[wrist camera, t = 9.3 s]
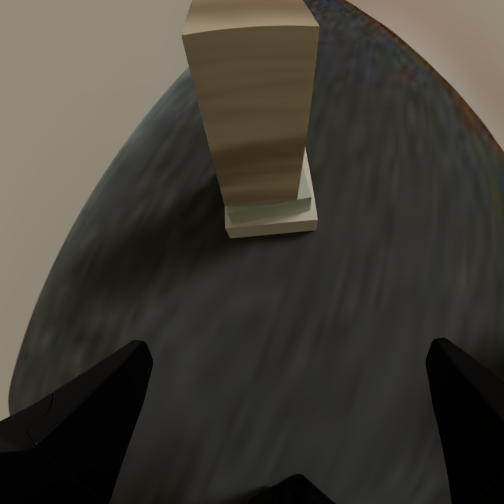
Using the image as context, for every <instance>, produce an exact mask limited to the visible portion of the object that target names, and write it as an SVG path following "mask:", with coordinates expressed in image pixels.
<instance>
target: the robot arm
mask: <svg viewBox="0 0 504 504" xmlns="http://www.w3.org/2000/svg"><path fill="white" fill-rule="evenodd" d="M152 367H153V359H152V356H151V354H150V351H149V349H148V346H147V344H146V342H144V341H139V340H133V341H131V342H130V343H128V344H127V345H125V346H124V347H122V348H120V349H119V350H117V351H116V352H114V353H113V354H111V355H110V356H108V357H107V358H105V359H104V360H102V361H100V362H99V363H97V364H96V365H94V366H93V367H91V368H90V369H88V370H87V371H85V372H83V373H82V374H80V375H79V376H77V377H76V378H74V379H73V380H71V381H69V382H68V383H66V384H65V385H63V386H62V387H60V388H59V389H57V390H55V391H54V393H53V392H52V393H51V394H49V395H48V396H46V397H44V398H43V399H41V400H39V401H38V402H36V403H35V404H33V405H31V406H29V407H27V408H25V409H24V410H22V411H20V412H18V413H16V414H14V415H12V416H10V417H8V418H6V419H4V420H2V421H0V504H109V502H110V499H111V496H112V493H113V490H114V487H115V484H116V480H117V477H118V474H119V471H120V468H121V465H122V462H123V459H124V457H125V454H126V451H127V448H128V445H129V442H130V439H131V436H132V434H133V431H134V428H135V425H136V422H137V420H138V417H139V414H140V411H141V409H142V406H143V402H144V399H145V395H146V391H147V387H148V383H149V379H150V375H151V371H152ZM426 369H427V374H428V380H429V386H430V392H431V398H432V404H433V408H434V413H435V417H436V421H437V425H438V429H439V433H440V438H441V442H442V447H443V452H444V457H445V462H446V468H447V474H448V480H449V487H450V494H451V502H452V504H504V381H503V380H502V379H501V378H499V377H498V376H497V375H495V374H494V373H493V372H491V371H490V370H489V369H487V368H486V367H485V366H483V365H482V364H481V363H479V362H478V361H477V360H475V359H474V358H473V357H471V356H470V355H469V354H467V353H466V352H465V351H463V350H462V349H460V348H459V347H458V346H456V345H455V344H453V343H452V342H451V341H449V340H448V339H446V338H437V339H434V340H433V341H432V343H431V346H430V349H429V352H428V354H427V357H426ZM296 479H301V481H300V482H296V481H295V480H296ZM248 504H335V503H334V502H333V501H332V500H331V499H329V498H328V497H327V496H326V495H325V494H324V493H322V492H321V491H320V490H319V489H318V488H317V487H316V486H314V485H313V484H312V483H311V482H310V481H309V480H308V479H307V478H305V477H304V476H303V475H301V474H296V475H294V476H293V477H291V478H290V479H288V480H287V481H285V482H284V483H282V484H281V485H279V486H272V487H270V488H269V489H267V490H266V491H264V492H262V493H261V494H259V495H257V496H256V497H254V498H252V499H250V500H249V502H248Z"/></svg>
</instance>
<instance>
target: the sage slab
mask: <svg viewBox="0 0 504 504" xmlns="http://www.w3.org/2000/svg"><path fill="white" fill-rule="evenodd" d="M311 198H312V197H311V193H310V190H309V186H308V183H307V179H306V176H305V173H304V169H303V166H302V172H301V178H300V185H299V191H298V198H297V201H283V202H269V203H256V204H244V205H233V206H226V207H227V214H228V216H229V218H230V220H231V223H232V225H234V224H240V223H245V222H250V221H255V220H260V219H265V218H270V217H276V216H281V215H286V214H291V213H297V212H302V211H307V210H310V208H311Z"/></svg>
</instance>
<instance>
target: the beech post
mask: <svg viewBox="0 0 504 504" xmlns="http://www.w3.org/2000/svg"><path fill="white" fill-rule="evenodd" d="M318 36H319V25H318V23H317V22H316V20H315V18H314V17H313V15H312V14H311V12H310V11H309V9H308V8H307V6H306V5H305V3H304V2H303V0H192V2H191V5H190V9H189V12H188V15H187V18H186V22H185V25H184V29H183V32H182V39H183V44H184V48H185V52H186V56H187V60H188V64H189V68H190V73H191V77H192V81H193V85H194V89H195V93H196V97H197V101H198V105H199V109H200V113H201V117H202V121H203V124H204V128H205V132H206V136H207V140H208V144H209V148H210V152H211V156H212V160H213V163H214V167H215V171H216V175H217V179H218V183H219V186H220V190H221V194H222V198H223V201H224V205H225V206H233V205H244V204H256V203H269V202H283V201H297V198H298V191H299V185H300V178H301V172H302V165H303V158H304V151H305V144H306V137H307V129H308V122H309V114H310V106H311V98H312V90H313V82H314V73H315V64H316V55H317V46H318Z"/></svg>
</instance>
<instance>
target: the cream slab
mask: <svg viewBox="0 0 504 504" xmlns="http://www.w3.org/2000/svg"><path fill="white" fill-rule="evenodd" d="M302 166H303V169H304V173H305V176H306V179H307V183H308V186H309V190H310V193H311V197H312V198H311V208H310V210H307V211H302V212H297V213H291V214H286V215H281V216H276V217H270V218H265V219H260V220H255V221H250V222H245V223H240V224H234V225H232V223H231V220H230V218H229V216H228V214H227V207H226V206H225V229H226V231H227V233H228V235H229V237H230V238H239V237H249V236H260V235H270V234H280V233H291V232H302V231H313V230H316V227H317V221H318V218H317V212H316V206H315V199H314V193H313V187H312V182H311V176H310V170H309V165H308V160H307V154H306V149H305V151H304V158H303V165H302Z"/></svg>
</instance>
